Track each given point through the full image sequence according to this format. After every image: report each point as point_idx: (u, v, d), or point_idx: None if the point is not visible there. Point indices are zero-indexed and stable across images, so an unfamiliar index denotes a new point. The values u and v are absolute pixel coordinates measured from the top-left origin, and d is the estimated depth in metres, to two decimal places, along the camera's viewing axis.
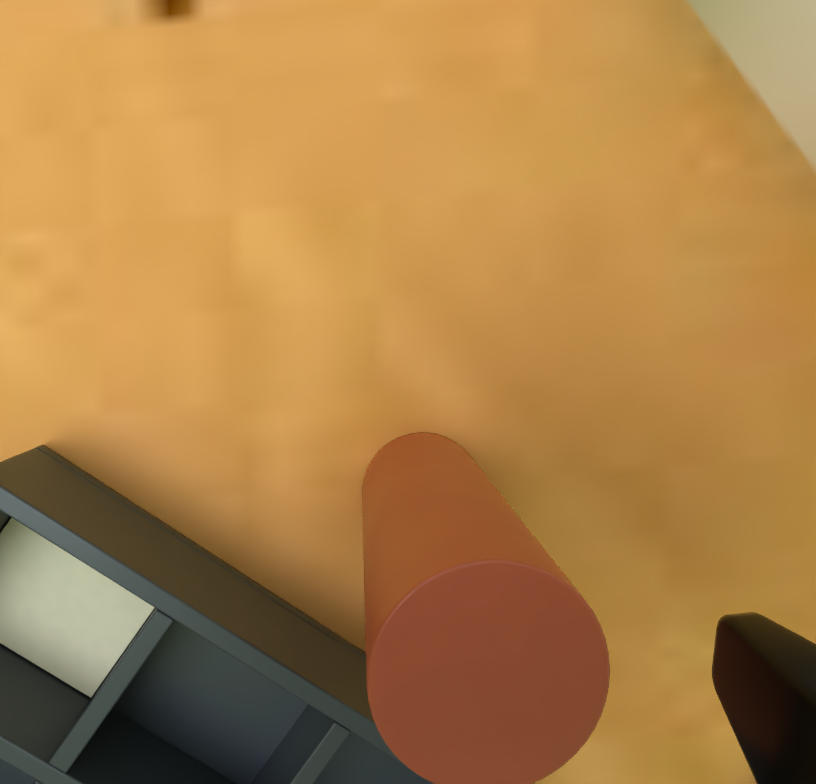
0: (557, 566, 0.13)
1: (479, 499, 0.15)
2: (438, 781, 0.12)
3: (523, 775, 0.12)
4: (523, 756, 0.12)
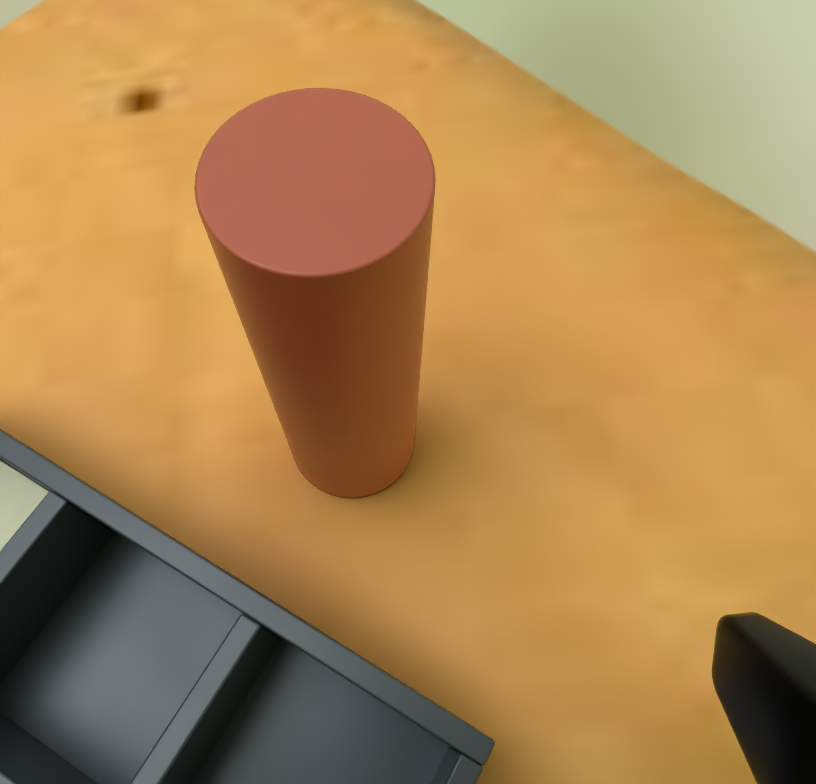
0: None
1: None
2: (266, 264, 0.11)
3: (356, 257, 0.11)
4: (354, 238, 0.11)
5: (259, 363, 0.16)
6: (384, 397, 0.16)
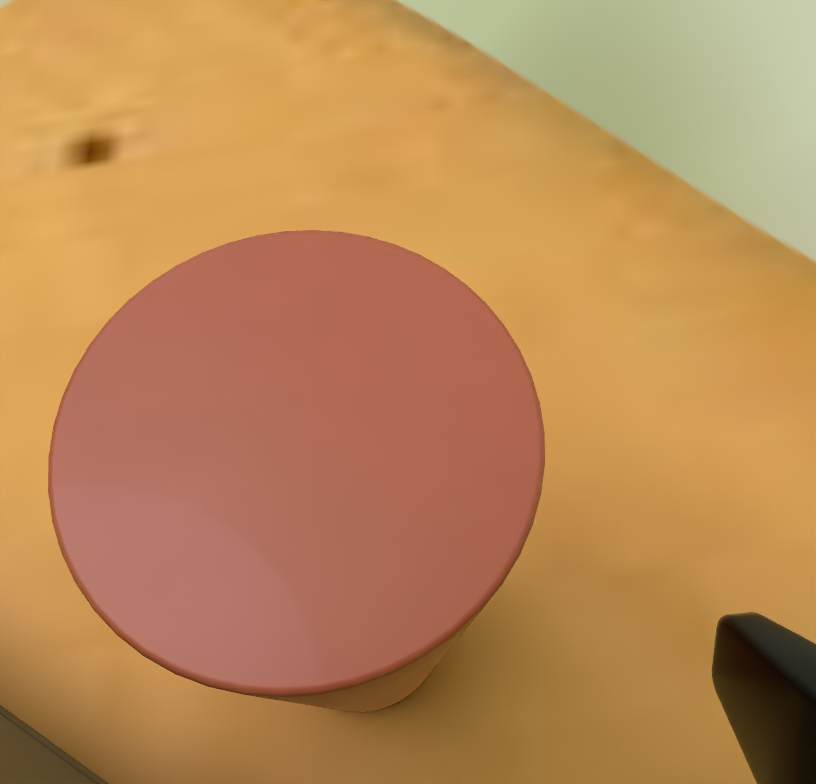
0: None
1: None
2: (188, 664, 0.05)
3: (388, 639, 0.05)
4: (382, 590, 0.05)
5: None
6: (417, 680, 0.10)
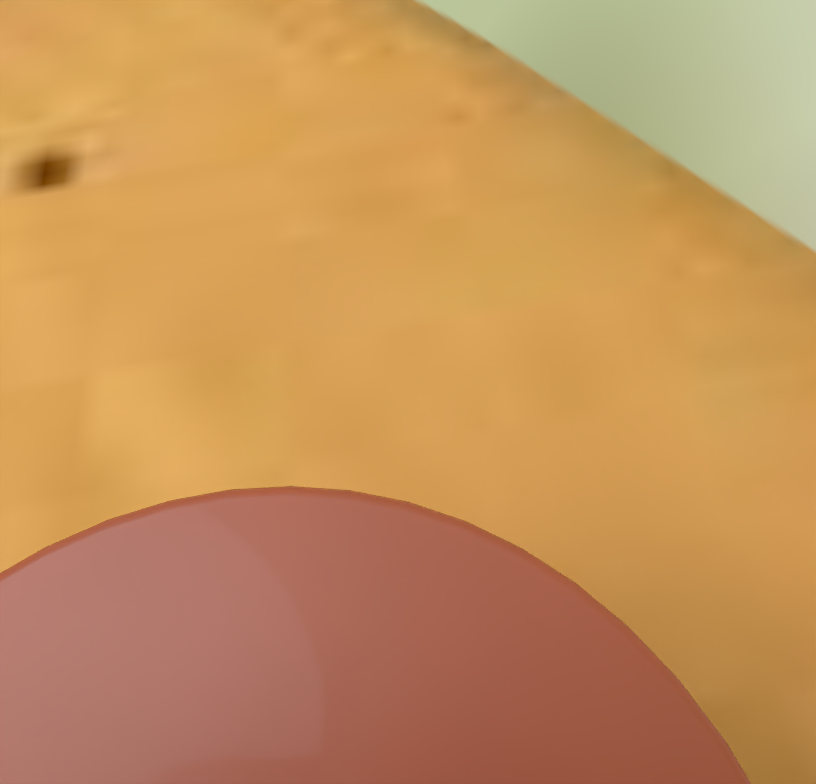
0: None
1: None
2: None
3: None
4: None
5: None
6: None
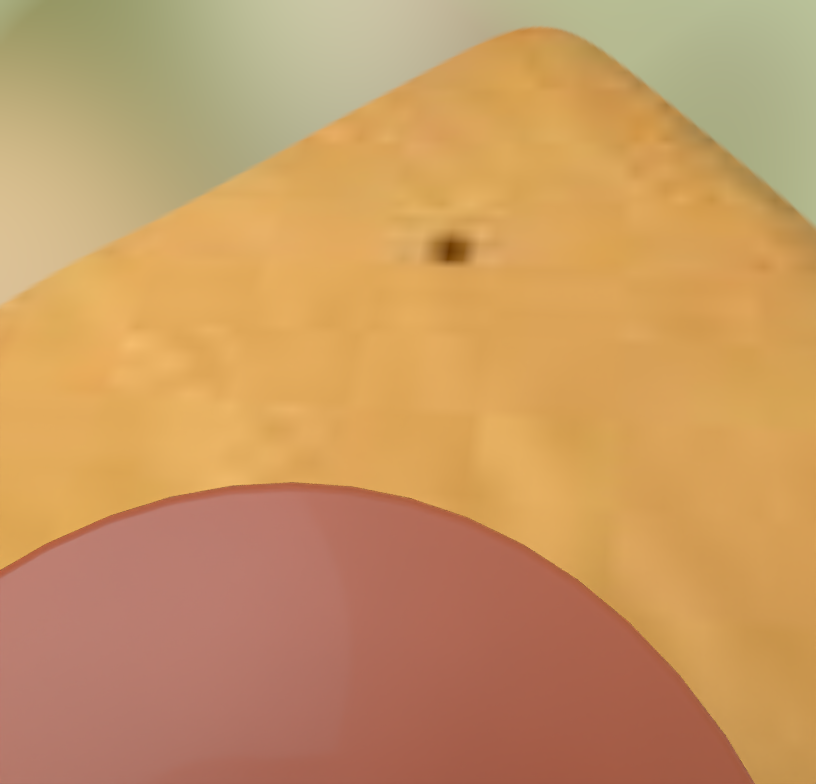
0: None
1: None
2: None
3: None
4: None
5: None
6: None
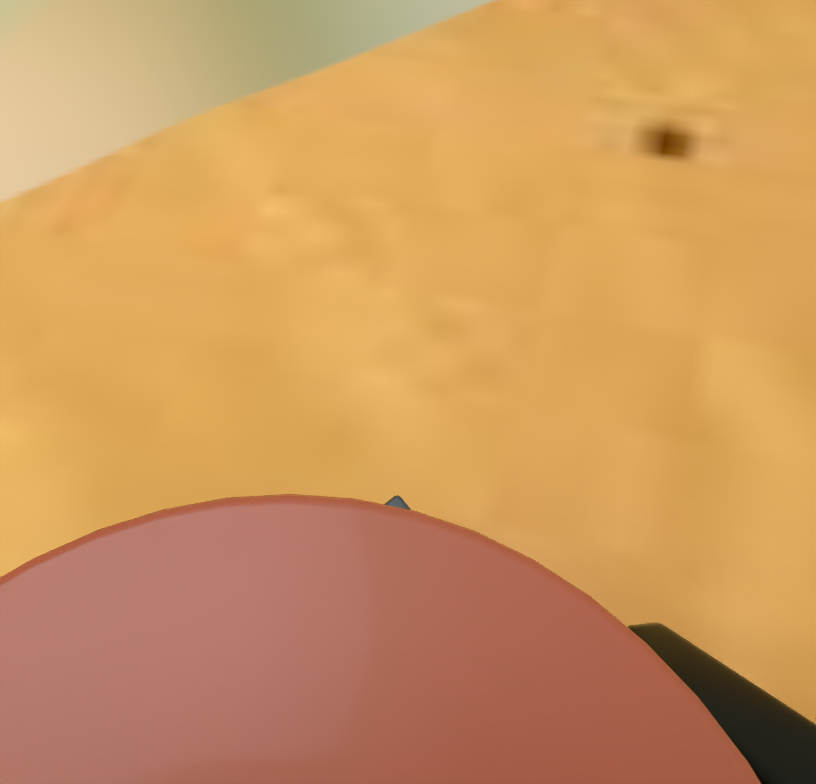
0: None
1: None
2: None
3: None
4: None
5: None
6: None
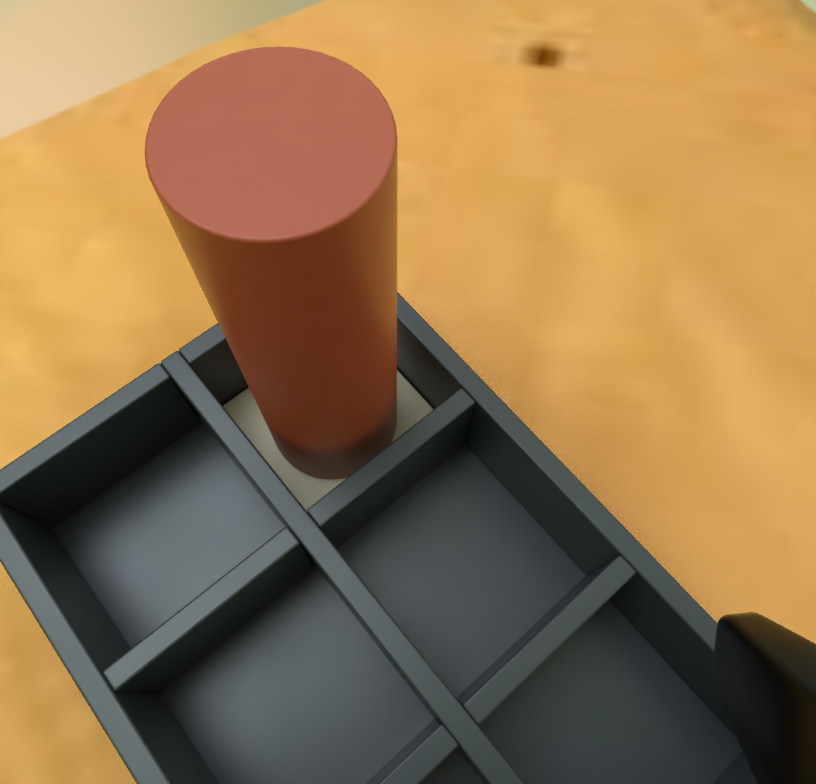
0: None
1: None
2: (220, 229, 0.11)
3: (315, 220, 0.11)
4: (312, 200, 0.11)
5: (227, 340, 0.15)
6: (358, 372, 0.16)
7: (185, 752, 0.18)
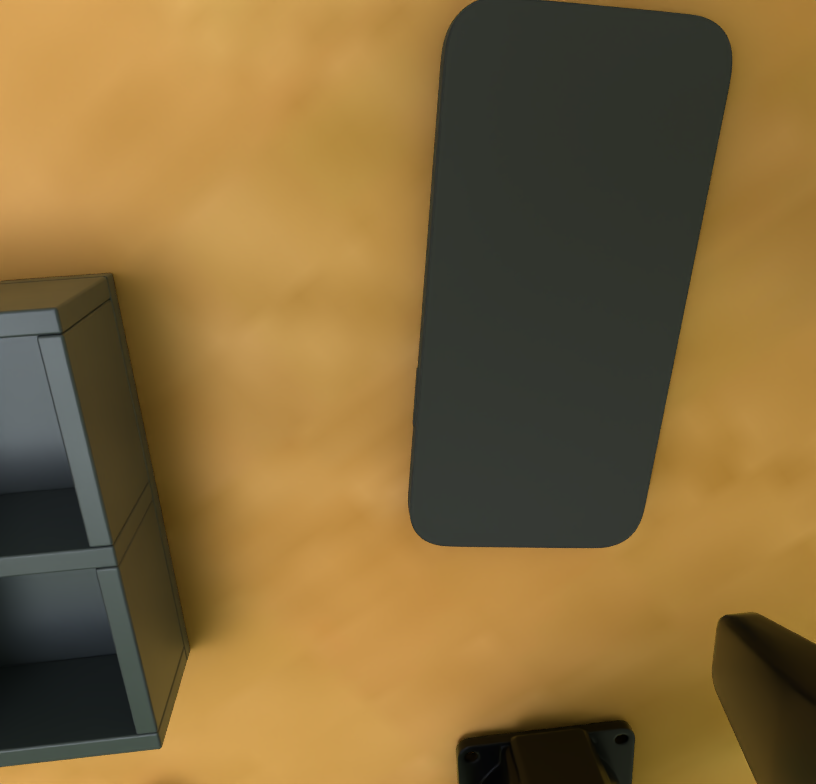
0: None
1: None
2: None
3: None
4: None
5: None
6: None
7: None
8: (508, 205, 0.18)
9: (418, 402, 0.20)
